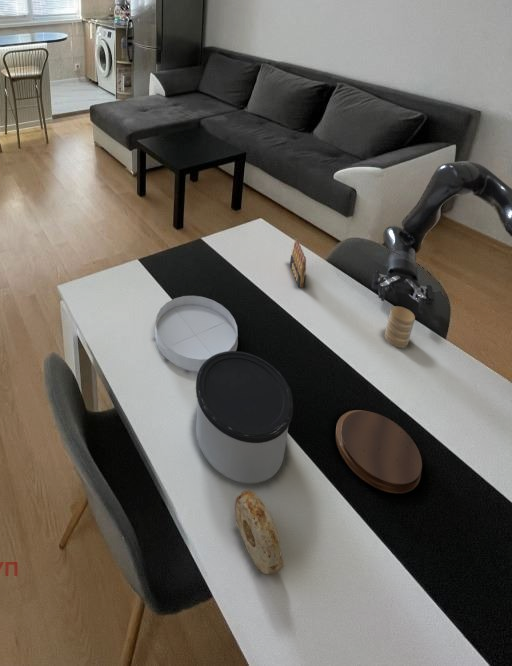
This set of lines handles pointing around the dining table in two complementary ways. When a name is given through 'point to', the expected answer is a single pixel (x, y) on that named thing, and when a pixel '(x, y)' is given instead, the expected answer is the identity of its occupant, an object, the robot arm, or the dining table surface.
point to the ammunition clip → (298, 264)
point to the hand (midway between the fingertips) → (401, 304)
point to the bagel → (258, 532)
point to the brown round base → (379, 451)
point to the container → (242, 415)
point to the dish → (194, 331)
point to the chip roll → (399, 326)
